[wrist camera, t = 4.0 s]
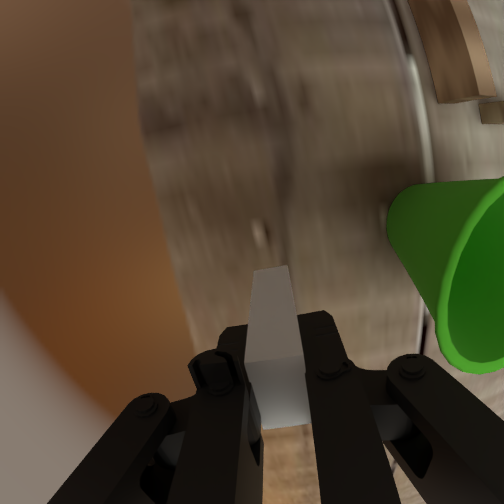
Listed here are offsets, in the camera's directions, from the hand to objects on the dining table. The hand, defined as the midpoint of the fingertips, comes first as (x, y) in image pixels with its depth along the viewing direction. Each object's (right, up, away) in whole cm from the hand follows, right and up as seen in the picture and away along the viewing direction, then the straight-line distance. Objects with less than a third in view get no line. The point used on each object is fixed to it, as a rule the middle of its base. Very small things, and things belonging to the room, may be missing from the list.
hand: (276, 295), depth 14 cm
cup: (+10, +4, +5) cm, 12 cm away
